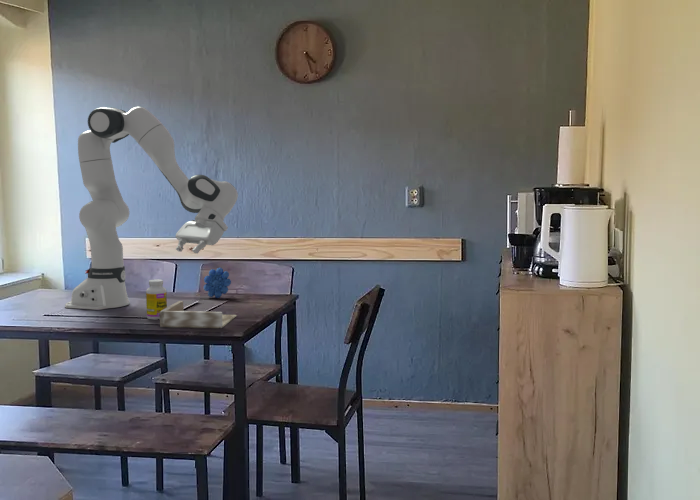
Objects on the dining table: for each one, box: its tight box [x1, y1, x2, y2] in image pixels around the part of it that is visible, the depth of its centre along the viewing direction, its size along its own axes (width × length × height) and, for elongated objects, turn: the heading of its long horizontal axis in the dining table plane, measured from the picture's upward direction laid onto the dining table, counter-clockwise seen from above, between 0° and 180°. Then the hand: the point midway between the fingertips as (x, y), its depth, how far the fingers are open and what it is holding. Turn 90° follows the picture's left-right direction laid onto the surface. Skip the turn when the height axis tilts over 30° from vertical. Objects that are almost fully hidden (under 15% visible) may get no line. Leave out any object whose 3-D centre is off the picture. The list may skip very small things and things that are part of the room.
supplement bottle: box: [145, 278, 168, 321], centre depth 243 cm, size 7×7×13 cm
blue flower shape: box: [203, 267, 232, 299], centre depth 280 cm, size 12×7×12 cm, turn 72°
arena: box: [159, 300, 237, 329], centre depth 238 cm, size 20×18×5 cm
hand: (186, 251), depth 251 cm, fingers open, 8 cm apart
